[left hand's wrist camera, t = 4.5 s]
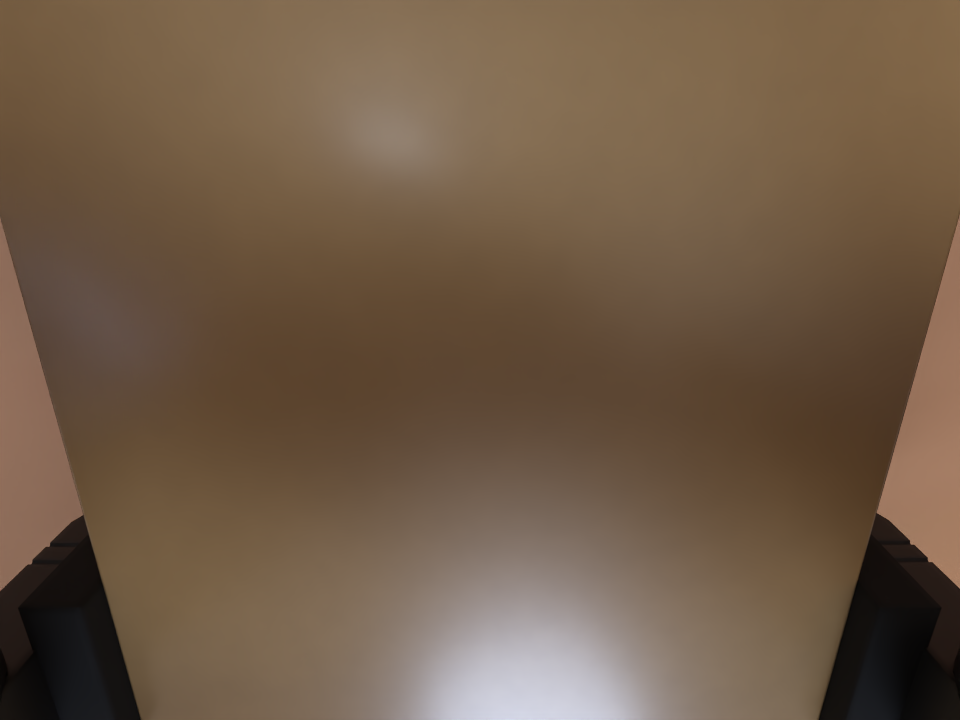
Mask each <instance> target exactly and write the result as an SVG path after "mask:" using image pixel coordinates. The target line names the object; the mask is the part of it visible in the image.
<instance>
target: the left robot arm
mask: <svg viewBox="0 0 960 720" xmlns="http://www.w3.org/2000/svg"><path fill="white" fill-rule="evenodd" d="M0 720H141V719H140V715H139V712H138V708H137V705H136V701H135V698H134V694H133V690H132V687H131V683H130V680H129V676H128V673H127V669H126V665H125V662H124V658H123V655H122V651H121V647H120V644H119V640H118V637H117V633H116V630H115V626H114V622H113V619H112V615H111V612H110V608H109V604H108V601H107V597H106V594H105V590H104V587H103V583H102V579H101V576H100V572H99V569H98V565H97V562H96V558H95V554H94V551H93V547H92V544H91V540H90V536H89V533H88V529H87V526H86V522H85V519H84V515H83V516H81V517H80V518H78V519H76V520H74V521H73V522H71V523H70V524H69V525H68V526H67V527H66V528H65V529H64V530H63V531H62V532H61V533H60V534H59V535H58V536H57V537H56V538H55V539H54V540H53V541H52V542H51V543H50V547H45V548H44V549H43V550H42V551H41V552H40V553H39V554H38V555H37V556H36V557H35V558H34V559H33V562H32V564H31V565H27V566H26V567H25V568H24V569H23V570H22V571H21V572H20V573H19V574H18V575H17V576H16V577H15V578H14V579H12V580H11V581H10V582H9V583H8V584H7V585H6V586H5V587H4V588H3V589H2V590H1V591H0ZM819 720H960V589H959V588H958V587H957V586H956V585H955V584H954V583H953V582H952V581H951V580H950V579H949V578H948V577H947V576H946V575H945V574H944V573H943V572H942V571H941V570H940V569H939V568H938V567H937V566H936V565H935V564H934V563H933V562H928V558H927V557H926V556H925V555H924V554H923V553H922V552H921V551H920V550H919V549H918V548H917V547H916V546H915V545H911V544H910V540H909V539H908V538H907V537H906V536H905V535H904V534H902V533H901V532H900V531H899V530H898V529H897V528H896V527H895V526H894V525H893V524H892V523H891V522H890V521H889V520H887V519H886V518H884V517H882V516H881V515H879V514H877V513H876V516H875V520H874V524H873V527H872V531H871V534H870V538H869V541H868V545H867V549H866V552H865V556H864V559H863V563H862V567H861V570H860V574H859V577H858V581H857V584H856V588H855V592H854V595H853V599H852V602H851V606H850V610H849V613H848V617H847V620H846V624H845V627H844V631H843V635H842V638H841V642H840V645H839V649H838V653H837V656H836V660H835V663H834V667H833V670H832V674H831V678H830V681H829V685H828V688H827V692H826V696H825V699H824V703H823V706H822V710H821V714H820V717H819Z"/></svg>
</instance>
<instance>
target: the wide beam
mask: <svg viewBox="0 0 960 720" xmlns="http://www.w3.org/2000/svg"><path fill="white" fill-rule="evenodd" d="M959 215H960V0H0V218H1V221H2V225H3V229H4V232H5V236H6V239H7V243H8V247H9V250H10V254H11V257H12V261H13V264H14V268H15V272H16V275H17V279H18V282H19V286H20V289H21V293H22V297H23V300H24V304H25V307H26V311H27V315H28V318H29V322H30V325H31V329H32V332H33V336H34V340H35V343H36V347H37V350H38V354H39V357H40V361H41V365H42V368H43V372H44V375H45V379H46V383H47V386H48V390H49V393H50V397H51V400H52V404H53V408H54V411H55V415H56V418H57V422H58V425H59V429H60V433H61V436H62V440H63V443H64V447H65V451H66V454H67V458H68V461H69V465H70V468H71V472H72V476H73V479H74V483H75V486H76V490H77V494H78V497H79V501H80V504H81V508H82V511H83V515H84V519H85V522H86V526H87V529H88V533H89V536H90V540H91V544H92V547H93V551H94V554H95V558H96V562H97V565H98V569H99V572H100V576H101V579H102V583H103V587H104V590H105V594H106V597H107V601H108V604H109V608H110V612H111V615H112V619H113V622H114V626H115V630H116V633H117V637H118V640H119V644H120V647H121V651H122V655H123V658H124V662H125V665H126V669H127V673H128V676H129V680H130V683H131V687H132V690H133V694H134V698H135V701H136V705H137V708H138V712H139V715H140V719H141V720H819V717H820V714H821V710H822V706H823V703H824V699H825V696H826V692H827V688H828V685H829V681H830V678H831V674H832V670H833V667H834V663H835V660H836V656H837V653H838V649H839V645H840V642H841V638H842V635H843V631H844V627H845V624H846V620H847V617H848V613H849V610H850V606H851V602H852V599H853V595H854V592H855V588H856V584H857V581H858V577H859V574H860V570H861V567H862V563H863V559H864V556H865V552H866V549H867V545H868V541H869V538H870V534H871V531H872V527H873V524H874V520H875V516H876V513H877V509H878V506H879V502H880V498H881V495H882V491H883V488H884V484H885V480H886V477H887V473H888V470H889V466H890V463H891V459H892V455H893V452H894V448H895V445H896V441H897V437H898V434H899V430H900V427H901V423H902V420H903V416H904V412H905V409H906V405H907V402H908V398H909V394H910V391H911V387H912V384H913V380H914V377H915V373H916V369H917V366H918V362H919V359H920V355H921V351H922V348H923V344H924V341H925V337H926V334H927V330H928V326H929V323H930V319H931V316H932V312H933V308H934V305H935V301H936V298H937V294H938V290H939V287H940V283H941V280H942V276H943V273H944V269H945V265H946V262H947V258H948V255H949V251H950V247H951V244H952V240H953V237H954V233H955V230H956V226H957V222H958V219H959Z"/></svg>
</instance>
